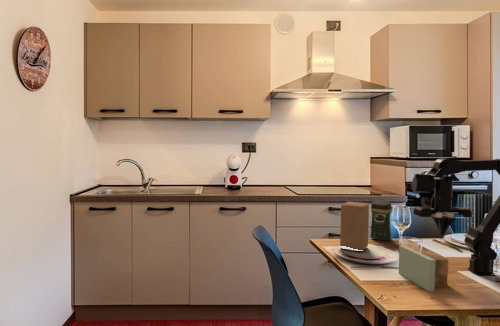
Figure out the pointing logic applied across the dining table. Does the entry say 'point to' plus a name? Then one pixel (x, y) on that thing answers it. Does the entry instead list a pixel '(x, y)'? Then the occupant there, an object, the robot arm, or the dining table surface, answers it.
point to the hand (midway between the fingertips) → (441, 235)
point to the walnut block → (439, 268)
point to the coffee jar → (380, 220)
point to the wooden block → (354, 225)
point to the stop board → (417, 267)
